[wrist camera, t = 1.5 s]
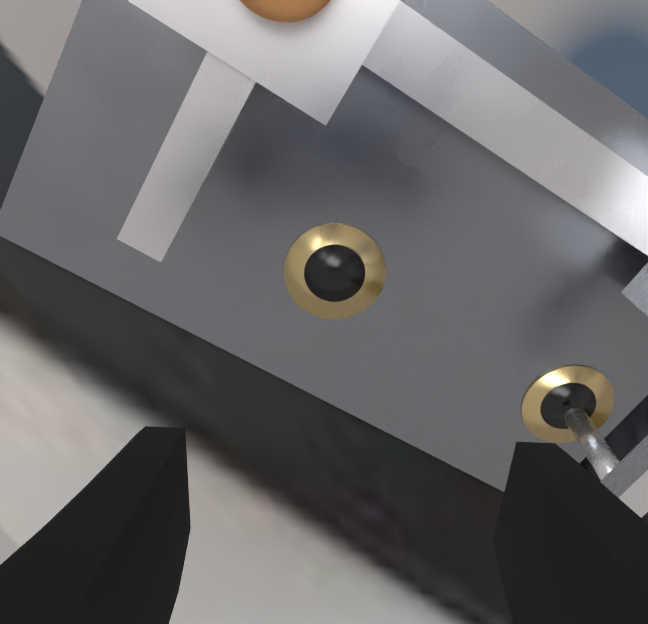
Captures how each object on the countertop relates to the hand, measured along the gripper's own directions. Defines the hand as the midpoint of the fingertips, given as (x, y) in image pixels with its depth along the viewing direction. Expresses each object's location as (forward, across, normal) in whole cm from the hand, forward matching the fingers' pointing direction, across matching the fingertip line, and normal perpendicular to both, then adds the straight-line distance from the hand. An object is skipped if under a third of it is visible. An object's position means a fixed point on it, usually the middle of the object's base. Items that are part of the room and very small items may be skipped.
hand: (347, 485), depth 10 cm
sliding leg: (+9, +2, -6) cm, 11 cm away
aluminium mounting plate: (+10, -2, -1) cm, 10 cm away
